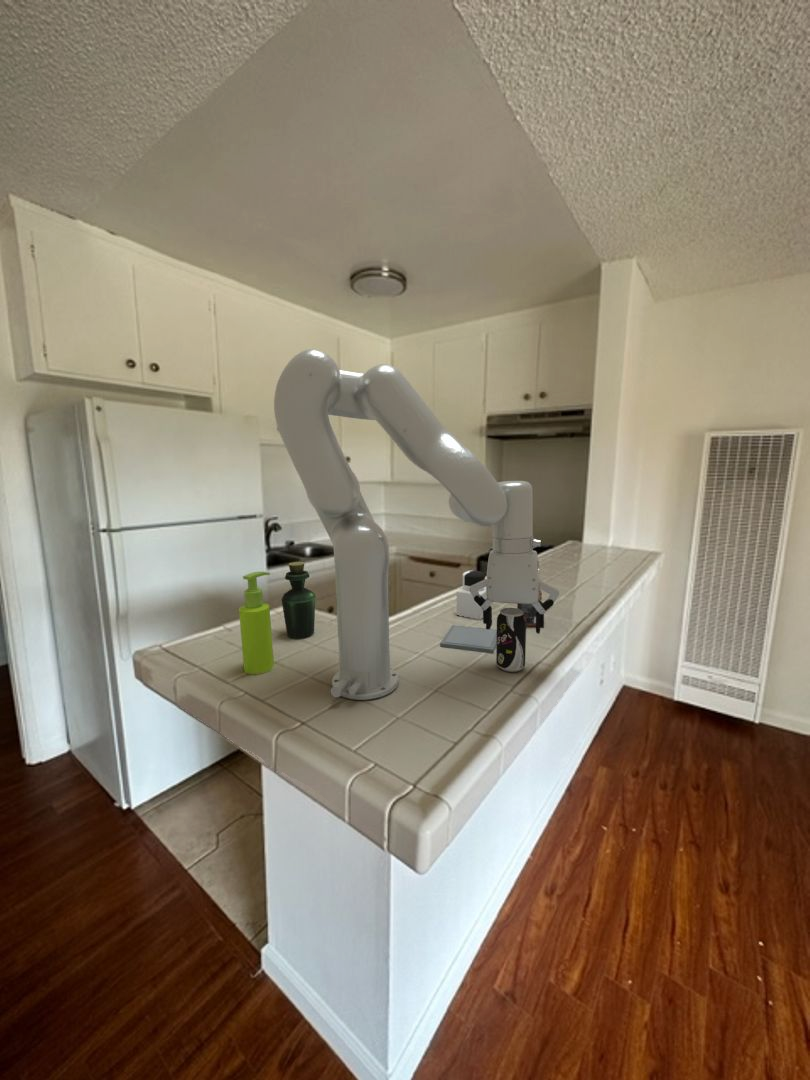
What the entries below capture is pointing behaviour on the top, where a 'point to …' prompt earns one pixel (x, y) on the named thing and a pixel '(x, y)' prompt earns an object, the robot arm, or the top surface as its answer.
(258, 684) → the top surface
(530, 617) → the supplement bottle
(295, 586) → the potion bottle
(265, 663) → the soap dispenser
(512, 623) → the beverage can
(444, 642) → the plate
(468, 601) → the medicine bottle
